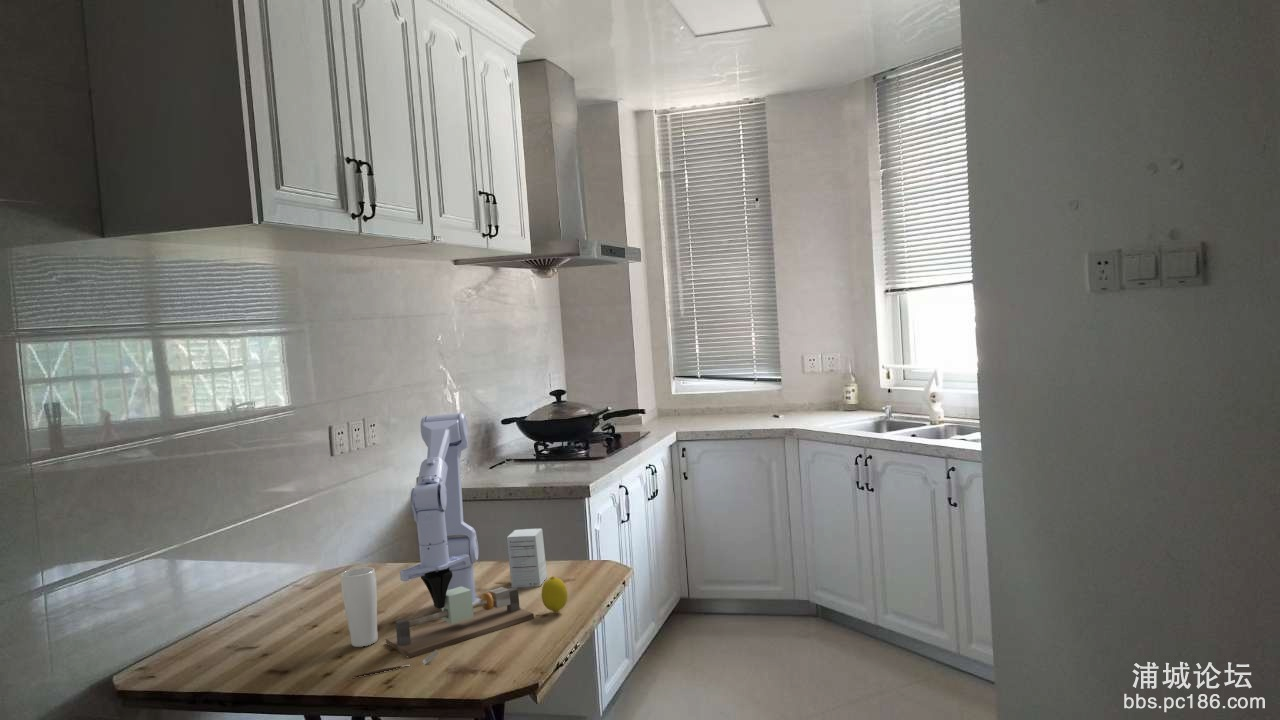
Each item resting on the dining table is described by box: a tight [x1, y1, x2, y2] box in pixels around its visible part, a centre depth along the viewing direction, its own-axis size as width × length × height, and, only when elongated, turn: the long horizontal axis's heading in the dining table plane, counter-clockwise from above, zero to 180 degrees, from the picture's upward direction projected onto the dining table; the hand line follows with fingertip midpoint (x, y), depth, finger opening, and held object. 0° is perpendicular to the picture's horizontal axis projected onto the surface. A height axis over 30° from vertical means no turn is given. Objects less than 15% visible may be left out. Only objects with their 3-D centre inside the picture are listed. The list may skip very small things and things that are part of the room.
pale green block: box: [440, 586, 474, 624], centre depth 178 cm, size 4×5×6 cm
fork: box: [353, 649, 439, 678], centre depth 160 cm, size 3×16×2 cm, turn 112°
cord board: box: [385, 586, 535, 659], centre depth 178 cm, size 12×28×6 cm, turn 128°
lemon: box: [541, 575, 568, 614], centre depth 184 cm, size 6×6×8 cm
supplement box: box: [506, 528, 548, 589], centre depth 209 cm, size 7×7×13 cm
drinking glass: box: [340, 566, 379, 648], centre depth 176 cm, size 7×7×15 cm
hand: (439, 607), depth 176 cm, fingers closed
